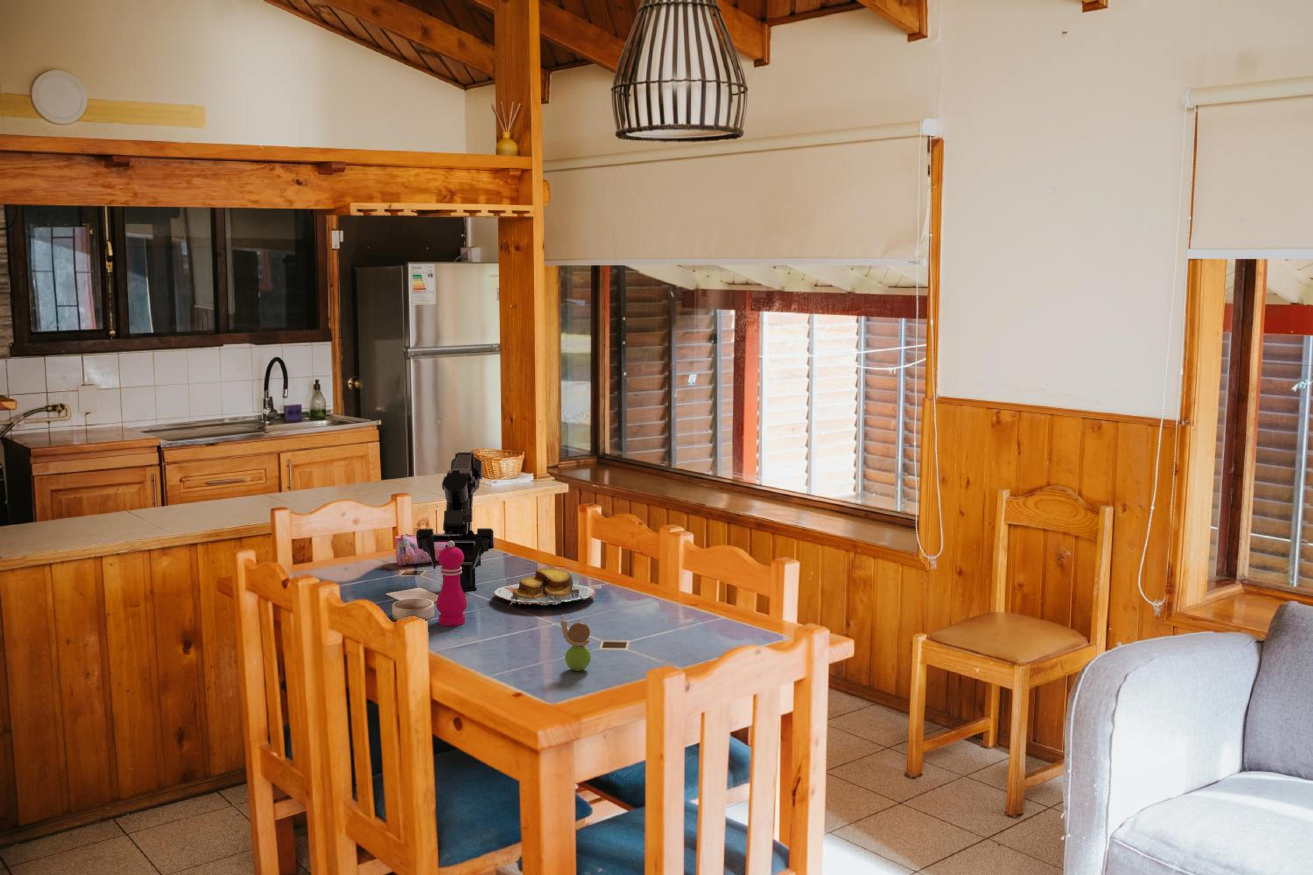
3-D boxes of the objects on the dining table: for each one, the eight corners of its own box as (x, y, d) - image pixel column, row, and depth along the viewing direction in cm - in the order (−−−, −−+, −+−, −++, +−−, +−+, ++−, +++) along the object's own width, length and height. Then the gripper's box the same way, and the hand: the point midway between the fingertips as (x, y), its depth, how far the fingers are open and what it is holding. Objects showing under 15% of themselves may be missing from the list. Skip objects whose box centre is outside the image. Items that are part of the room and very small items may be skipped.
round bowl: (430, 608, 293) (430, 596, 292) (437, 619, 283) (437, 607, 283) (390, 612, 289) (389, 599, 289) (395, 623, 280) (394, 610, 280)
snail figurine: (560, 666, 251) (560, 611, 249) (590, 665, 252) (590, 611, 250) (560, 674, 246) (560, 618, 244) (591, 674, 246) (591, 618, 245)
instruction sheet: (420, 588, 312) (420, 587, 312) (446, 599, 301) (446, 598, 301) (385, 594, 305) (385, 593, 305) (411, 606, 295) (411, 605, 295)
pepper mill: (460, 627, 277) (459, 544, 275) (431, 625, 279) (430, 543, 276) (471, 619, 284) (470, 538, 282) (443, 617, 286) (442, 536, 283)
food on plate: (473, 605, 298) (473, 579, 297) (530, 583, 320) (530, 559, 319) (560, 620, 285) (560, 593, 285) (613, 596, 308) (613, 571, 307)
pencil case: (401, 569, 332) (400, 538, 331) (391, 562, 340) (390, 532, 339) (472, 561, 343) (472, 530, 342) (460, 554, 351) (460, 524, 349)
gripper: (416, 496, 288) (411, 550, 278) (493, 496, 289) (490, 550, 280) (420, 521, 297) (415, 574, 287) (495, 521, 298) (492, 574, 289)
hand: (453, 568), depth 286 cm, fingers open, 9 cm apart
